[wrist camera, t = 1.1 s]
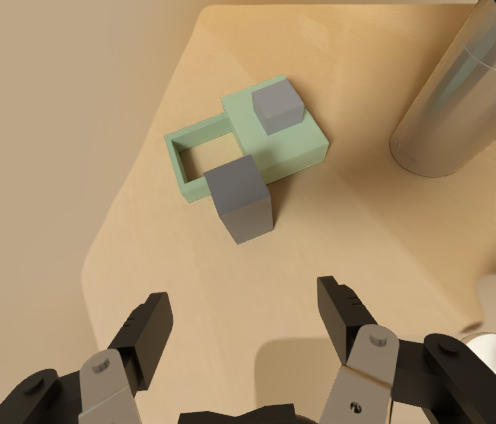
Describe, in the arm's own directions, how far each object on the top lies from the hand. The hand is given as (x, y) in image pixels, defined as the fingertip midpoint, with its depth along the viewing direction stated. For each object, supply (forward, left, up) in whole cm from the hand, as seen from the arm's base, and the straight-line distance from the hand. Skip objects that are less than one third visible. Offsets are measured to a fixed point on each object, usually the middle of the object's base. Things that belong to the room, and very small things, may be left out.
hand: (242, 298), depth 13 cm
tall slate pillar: (-2, -10, -16) cm, 19 cm away
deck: (-5, -21, -16) cm, 27 cm away
